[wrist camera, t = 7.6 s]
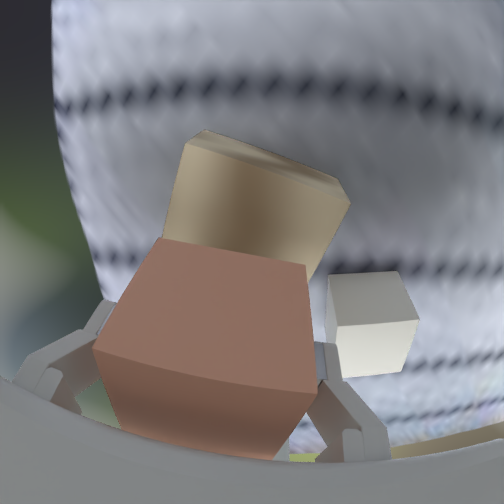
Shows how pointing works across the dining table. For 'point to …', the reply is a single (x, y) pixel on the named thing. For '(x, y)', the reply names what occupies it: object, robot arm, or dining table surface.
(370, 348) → the offwhite cube
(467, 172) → the dining table surface
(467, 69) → the dining table surface
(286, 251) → the beech base
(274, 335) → the terracotta cube
